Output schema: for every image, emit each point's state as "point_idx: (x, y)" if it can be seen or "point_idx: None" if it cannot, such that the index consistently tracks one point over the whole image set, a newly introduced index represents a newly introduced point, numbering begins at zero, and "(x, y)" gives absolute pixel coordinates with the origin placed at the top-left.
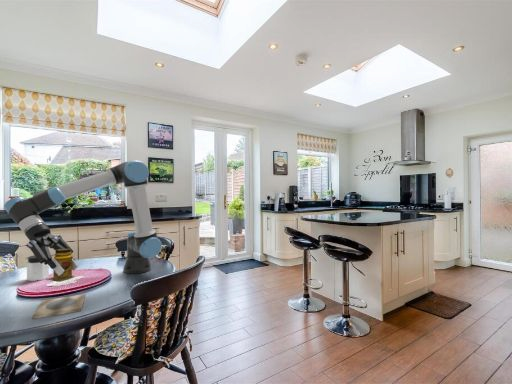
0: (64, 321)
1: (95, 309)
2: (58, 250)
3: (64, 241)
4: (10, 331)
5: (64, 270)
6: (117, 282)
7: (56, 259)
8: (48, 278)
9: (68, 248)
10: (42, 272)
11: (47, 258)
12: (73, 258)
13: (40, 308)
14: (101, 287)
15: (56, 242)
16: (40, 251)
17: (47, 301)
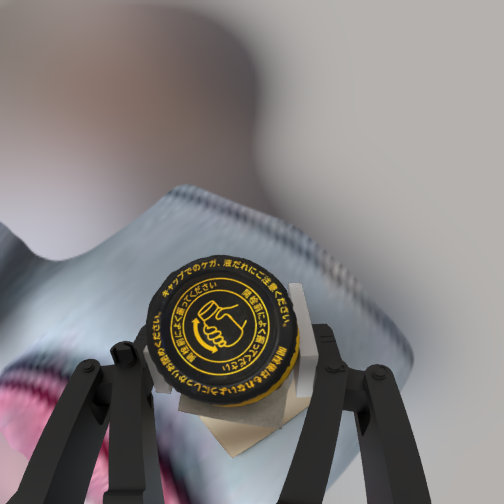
0: (331, 266)
1: (244, 238)
2: (286, 327)
3: (29, 464)
4: (408, 357)
5: (289, 284)
6: (37, 320)
7: (299, 339)
8: (263, 422)
9: (164, 309)
10: None
11: (349, 382)
12: (139, 335)
13: (295, 403)
14: (75, 348)
15: (130, 497)
16: (398, 441)
17: (237, 433)
